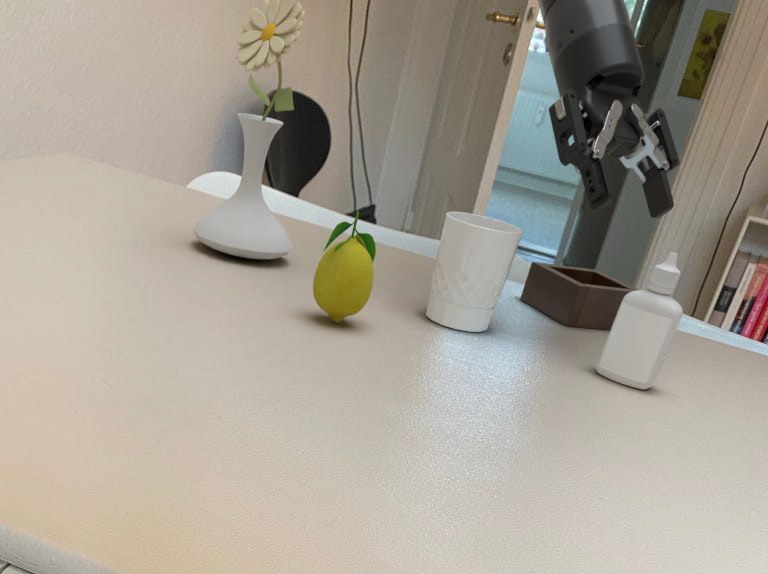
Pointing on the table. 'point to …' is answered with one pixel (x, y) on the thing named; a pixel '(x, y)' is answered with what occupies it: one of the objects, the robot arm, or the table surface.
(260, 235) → the flower in vase
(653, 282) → the eye dropper bottle
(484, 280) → the white cup
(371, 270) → the lemon
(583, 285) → the holder
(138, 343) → the table surface
